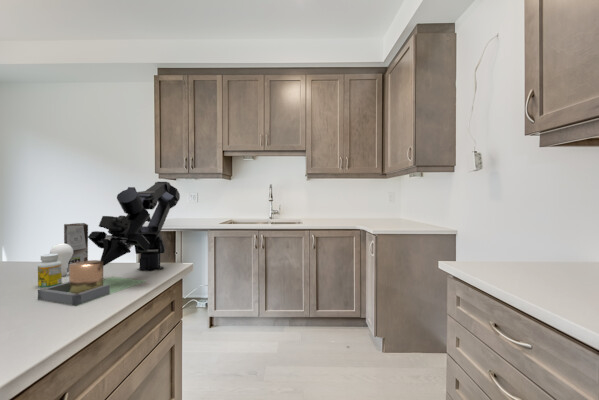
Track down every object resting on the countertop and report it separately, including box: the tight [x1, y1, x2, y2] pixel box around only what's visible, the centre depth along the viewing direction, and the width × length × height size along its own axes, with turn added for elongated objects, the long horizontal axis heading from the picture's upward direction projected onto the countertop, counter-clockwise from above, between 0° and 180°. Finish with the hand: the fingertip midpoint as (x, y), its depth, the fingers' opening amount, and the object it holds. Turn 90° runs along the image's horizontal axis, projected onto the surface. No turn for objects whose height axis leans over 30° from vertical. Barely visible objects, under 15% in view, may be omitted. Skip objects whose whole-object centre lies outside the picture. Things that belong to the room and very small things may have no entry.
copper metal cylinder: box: [68, 259, 104, 294], centre depth 83 cm, size 8×8×8 cm
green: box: [37, 276, 147, 307], centre depth 86 cm, size 22×14×1 cm, turn 163°
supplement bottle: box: [37, 253, 63, 289], centre depth 89 cm, size 5×5×10 cm
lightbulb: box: [49, 242, 73, 278], centre depth 100 cm, size 6×6×11 cm
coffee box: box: [63, 222, 89, 272], centre depth 111 cm, size 9×6×16 cm
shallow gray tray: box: [37, 281, 111, 307], centre depth 80 cm, size 9×13×2 cm
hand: (101, 265), depth 87 cm, fingers closed
